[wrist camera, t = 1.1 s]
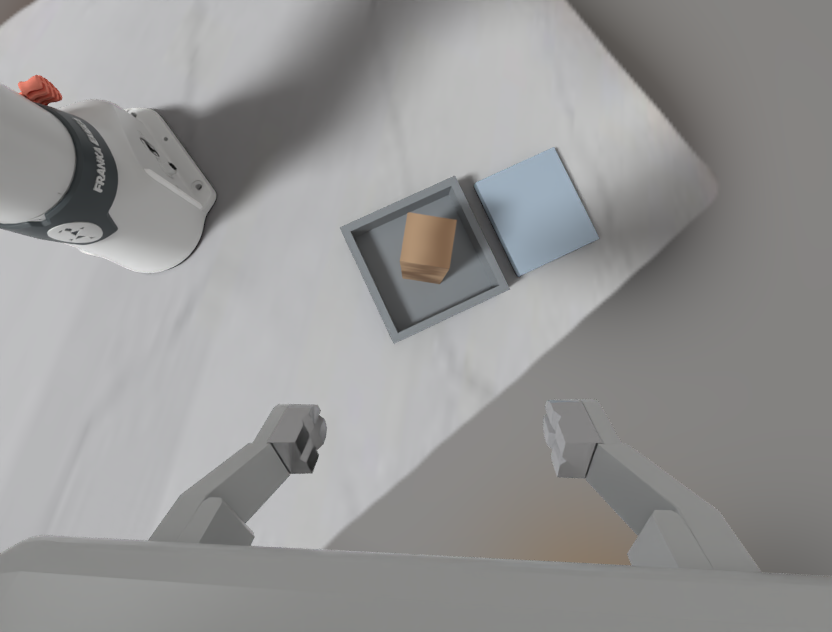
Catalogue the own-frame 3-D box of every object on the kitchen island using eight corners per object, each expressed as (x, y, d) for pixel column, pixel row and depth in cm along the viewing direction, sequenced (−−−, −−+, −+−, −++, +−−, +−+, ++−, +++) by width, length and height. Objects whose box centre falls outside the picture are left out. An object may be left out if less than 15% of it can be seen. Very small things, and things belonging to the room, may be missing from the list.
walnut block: (402, 278, 40) (399, 260, 30) (408, 240, 40) (407, 210, 30) (439, 284, 40) (449, 268, 30) (445, 246, 40) (457, 218, 30)
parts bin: (345, 236, 41) (339, 227, 37) (451, 188, 41) (454, 175, 38) (395, 342, 40) (393, 343, 37) (501, 292, 41) (509, 289, 37)
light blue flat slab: (473, 186, 41) (475, 182, 40) (550, 151, 42) (553, 147, 41) (517, 276, 41) (520, 275, 40) (594, 240, 41) (599, 238, 40)
